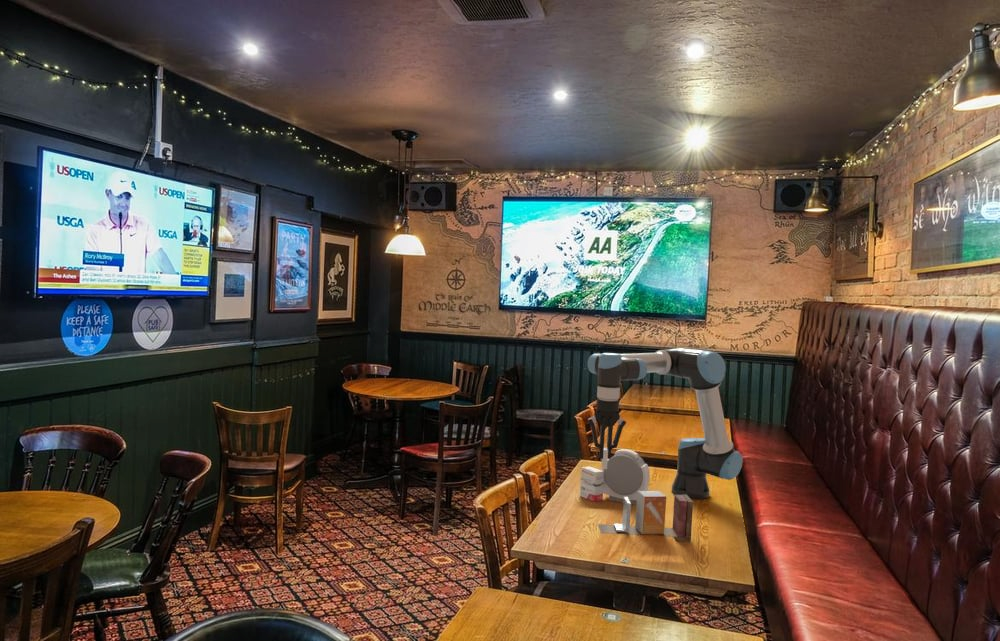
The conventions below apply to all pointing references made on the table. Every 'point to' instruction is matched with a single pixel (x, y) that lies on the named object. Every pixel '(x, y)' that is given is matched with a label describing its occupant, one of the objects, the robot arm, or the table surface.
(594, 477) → the ink box
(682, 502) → the book board
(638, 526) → the small box
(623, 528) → the bookend
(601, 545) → the table surface
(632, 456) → the alarm clock
